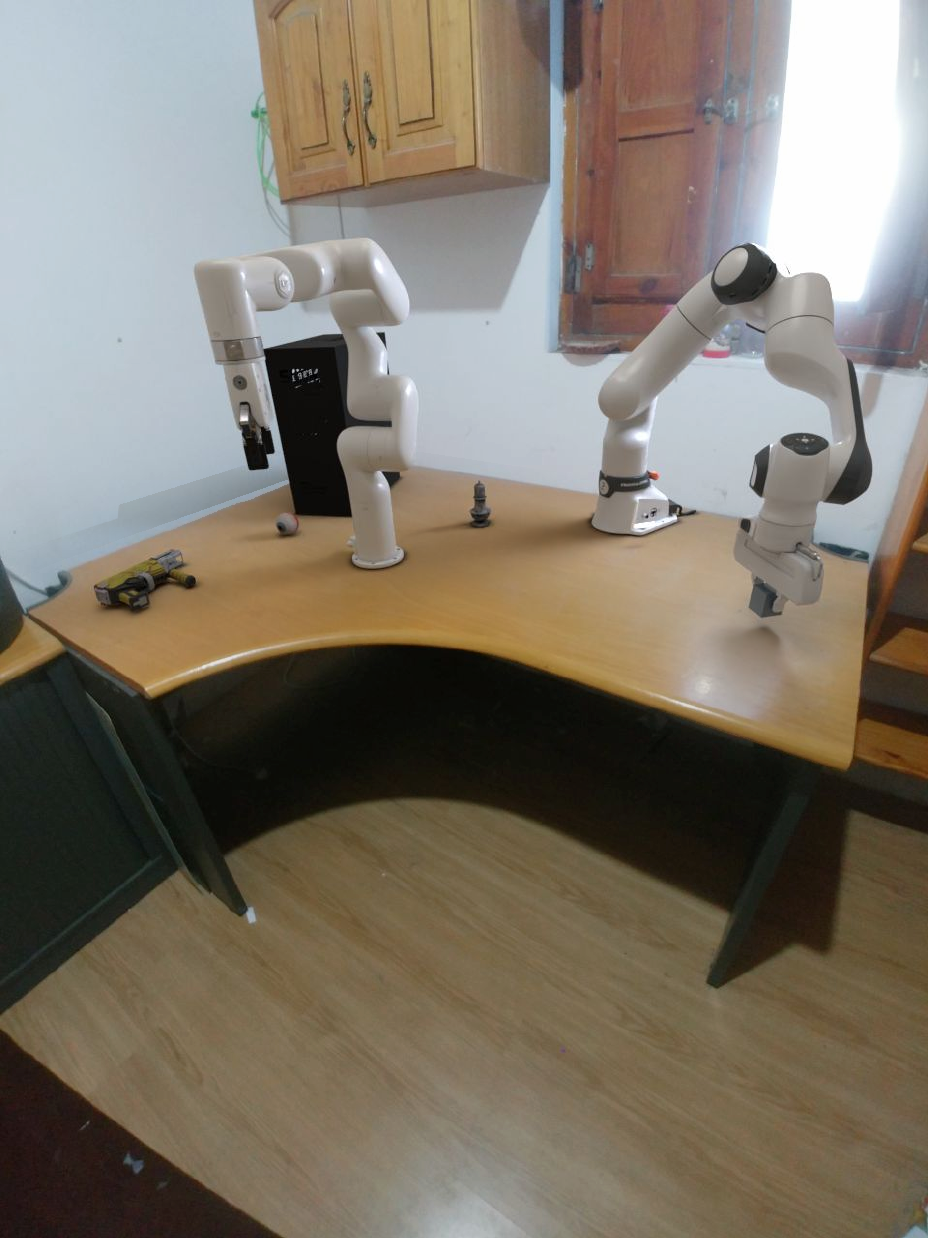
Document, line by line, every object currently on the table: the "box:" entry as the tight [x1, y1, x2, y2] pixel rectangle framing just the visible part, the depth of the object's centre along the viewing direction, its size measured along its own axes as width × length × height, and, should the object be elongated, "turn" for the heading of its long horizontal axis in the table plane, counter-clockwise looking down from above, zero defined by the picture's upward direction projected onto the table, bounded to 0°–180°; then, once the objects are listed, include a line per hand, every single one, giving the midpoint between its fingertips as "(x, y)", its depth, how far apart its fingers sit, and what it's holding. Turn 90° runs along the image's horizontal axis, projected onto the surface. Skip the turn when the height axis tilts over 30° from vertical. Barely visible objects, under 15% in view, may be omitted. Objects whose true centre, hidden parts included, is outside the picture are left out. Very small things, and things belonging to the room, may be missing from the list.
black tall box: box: [263, 331, 401, 517], centre depth 181 cm, size 38×20×45 cm, turn 167°
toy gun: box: [93, 548, 197, 612], centre depth 139 cm, size 5×24×15 cm
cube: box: [748, 582, 783, 619], centre depth 110 cm, size 4×4×5 cm
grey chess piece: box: [469, 479, 492, 528], centre depth 162 cm, size 6×6×12 cm
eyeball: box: [275, 511, 300, 536], centre depth 163 cm, size 6×6×6 cm
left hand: (262, 461), depth 102 cm, fingers open, 9 cm apart
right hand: (766, 603), depth 111 cm, fingers closed on cube, 4 cm apart
